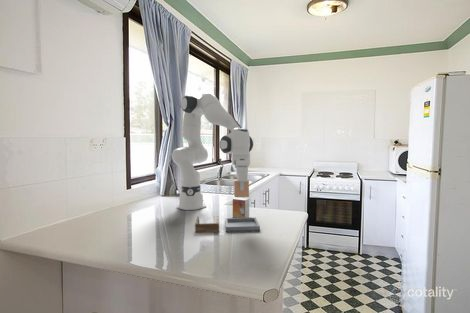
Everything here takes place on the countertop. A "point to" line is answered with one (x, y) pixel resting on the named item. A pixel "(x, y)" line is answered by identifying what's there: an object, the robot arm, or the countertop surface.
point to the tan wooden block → (241, 192)
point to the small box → (241, 207)
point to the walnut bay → (206, 226)
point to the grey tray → (241, 224)
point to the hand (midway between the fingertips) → (241, 188)
